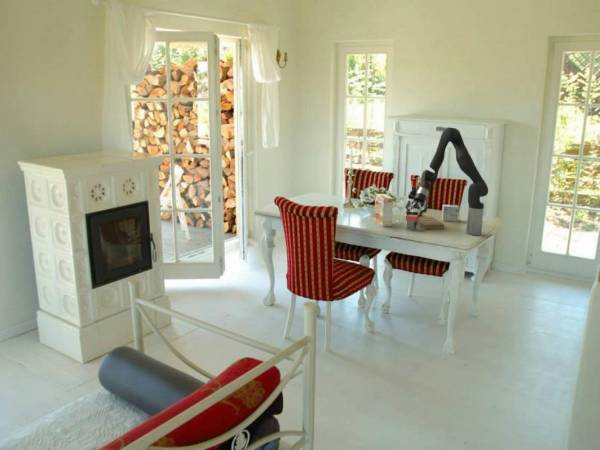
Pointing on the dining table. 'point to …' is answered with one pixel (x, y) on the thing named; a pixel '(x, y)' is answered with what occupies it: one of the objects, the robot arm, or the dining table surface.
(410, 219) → the red lid
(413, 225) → the grey tin
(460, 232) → the dining table surface
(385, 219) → the coffeecake box
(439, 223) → the walnut board
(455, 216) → the light bulb box
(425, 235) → the dining table surface
